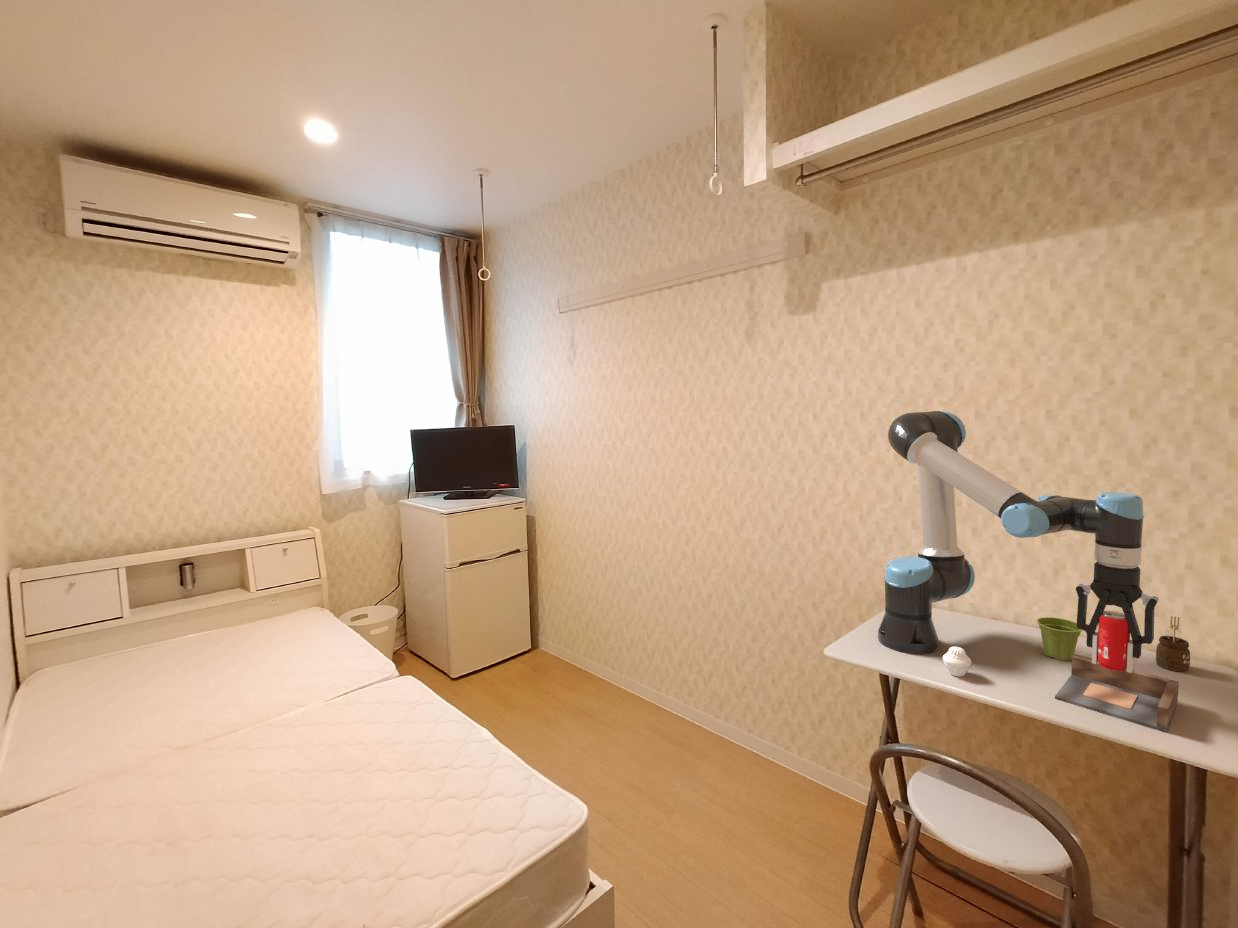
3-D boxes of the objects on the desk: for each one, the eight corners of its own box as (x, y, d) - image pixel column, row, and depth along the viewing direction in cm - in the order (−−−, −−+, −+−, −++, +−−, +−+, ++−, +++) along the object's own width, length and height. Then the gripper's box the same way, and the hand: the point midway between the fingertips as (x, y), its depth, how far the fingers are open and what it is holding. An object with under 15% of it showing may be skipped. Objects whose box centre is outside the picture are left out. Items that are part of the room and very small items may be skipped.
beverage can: (1098, 659, 126) (1100, 608, 125) (1128, 666, 122) (1131, 614, 121) (1095, 667, 122) (1098, 615, 121) (1127, 674, 119) (1130, 620, 118)
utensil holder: (1155, 667, 136) (1158, 620, 135) (1155, 658, 141) (1158, 613, 140) (1189, 674, 132) (1193, 626, 131) (1188, 665, 137) (1192, 619, 135)
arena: (1054, 698, 124) (1055, 677, 124) (1072, 674, 134) (1073, 655, 134) (1166, 732, 110) (1168, 708, 110) (1177, 703, 120) (1178, 681, 120)
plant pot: (1090, 664, 139) (1092, 631, 138) (1047, 662, 141) (1049, 630, 140) (1068, 648, 148) (1069, 617, 147) (1028, 647, 150) (1029, 616, 149)
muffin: (955, 681, 133) (956, 653, 133) (936, 669, 139) (936, 643, 139) (977, 677, 135) (978, 650, 134) (957, 666, 141) (958, 640, 140)
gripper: (1060, 559, 125) (1056, 658, 127) (1173, 575, 111) (1167, 686, 113) (1068, 553, 130) (1065, 648, 132) (1178, 568, 116) (1172, 674, 118)
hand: (1112, 665), depth 122 cm, fingers closed on beverage can, 5 cm apart
